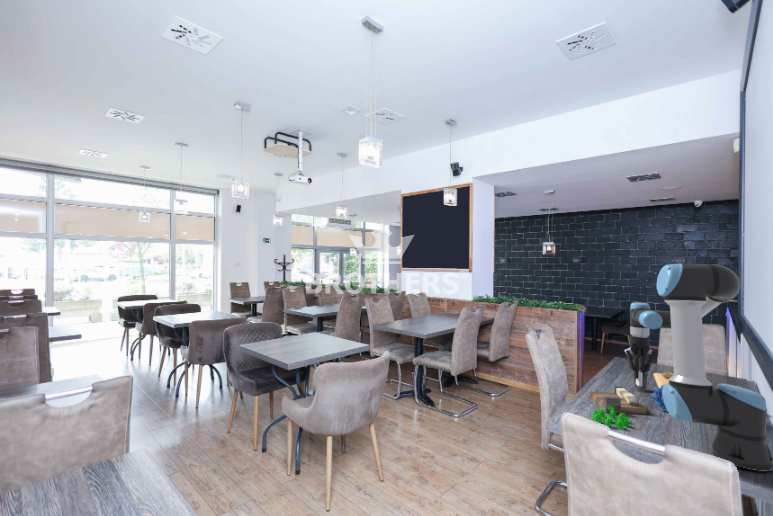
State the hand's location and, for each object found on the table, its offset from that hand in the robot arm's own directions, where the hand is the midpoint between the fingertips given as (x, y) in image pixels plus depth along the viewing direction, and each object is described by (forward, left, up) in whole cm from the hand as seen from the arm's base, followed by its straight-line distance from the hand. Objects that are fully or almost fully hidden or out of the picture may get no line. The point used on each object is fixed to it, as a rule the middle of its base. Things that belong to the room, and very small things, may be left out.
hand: (639, 385), depth 175 cm
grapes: (-11, -6, -8) cm, 15 cm away
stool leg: (-11, +8, -5) cm, 15 cm away
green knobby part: (-25, +24, -9) cm, 36 cm away
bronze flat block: (-5, +13, -8) cm, 16 cm away
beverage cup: (+18, -10, -8) cm, 22 cm away
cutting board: (+26, -36, -9) cm, 45 cm away
